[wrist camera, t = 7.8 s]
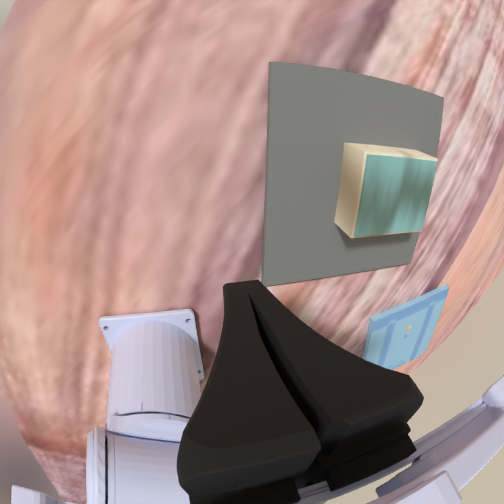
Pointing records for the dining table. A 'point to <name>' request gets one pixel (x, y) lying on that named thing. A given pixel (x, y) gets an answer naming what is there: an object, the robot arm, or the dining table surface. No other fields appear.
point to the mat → (332, 166)
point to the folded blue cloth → (404, 330)
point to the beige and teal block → (383, 190)
